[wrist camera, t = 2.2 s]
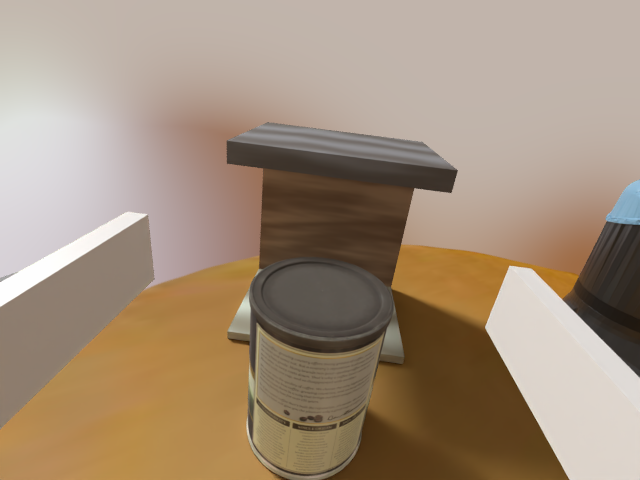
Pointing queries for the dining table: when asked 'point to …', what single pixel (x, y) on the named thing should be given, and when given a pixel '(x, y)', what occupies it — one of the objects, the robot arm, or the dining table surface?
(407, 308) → the dining table surface
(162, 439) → the dining table surface
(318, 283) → the coffee can
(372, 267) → the brown piece
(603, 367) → the robot arm
